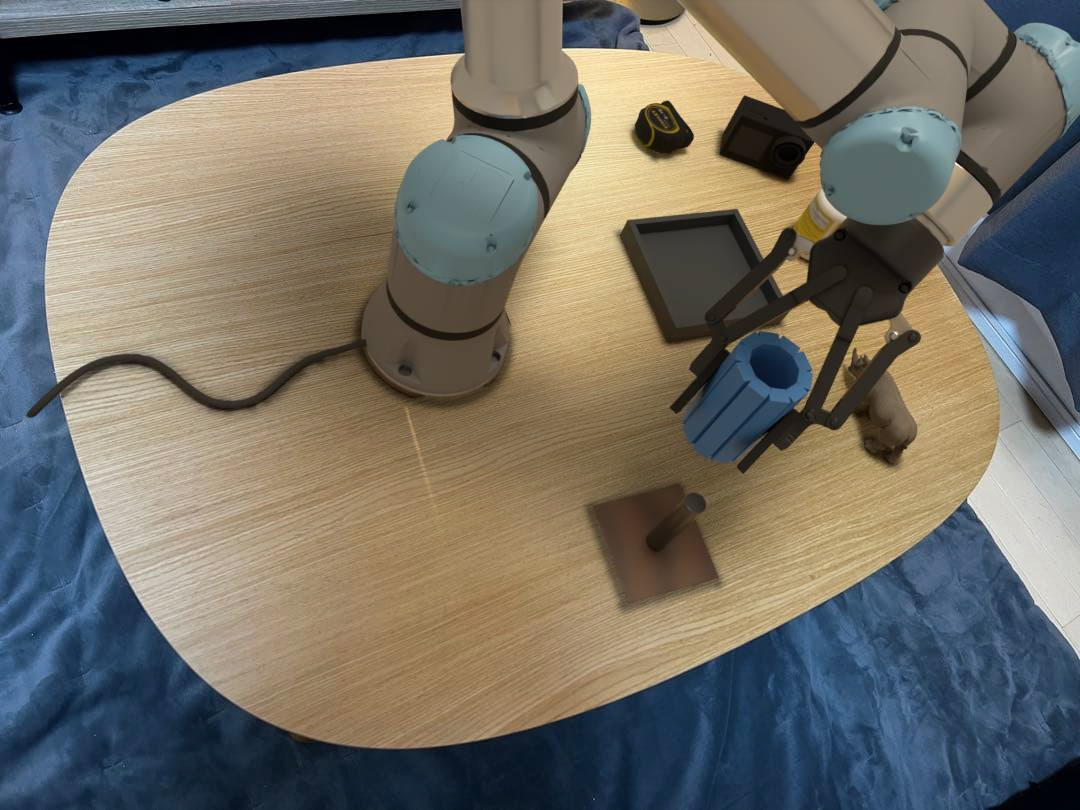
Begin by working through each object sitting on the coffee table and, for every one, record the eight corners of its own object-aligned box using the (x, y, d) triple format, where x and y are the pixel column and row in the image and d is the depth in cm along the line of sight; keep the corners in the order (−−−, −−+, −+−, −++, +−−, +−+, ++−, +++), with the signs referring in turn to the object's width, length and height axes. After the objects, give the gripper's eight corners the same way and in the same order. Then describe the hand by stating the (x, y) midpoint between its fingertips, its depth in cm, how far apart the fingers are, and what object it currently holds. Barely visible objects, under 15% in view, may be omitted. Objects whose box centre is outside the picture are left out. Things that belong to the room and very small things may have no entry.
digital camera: (717, 160, 114) (740, 120, 108) (721, 133, 117) (743, 93, 111) (788, 185, 115) (815, 148, 109) (790, 158, 117) (816, 120, 112)
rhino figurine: (857, 359, 102) (886, 332, 97) (901, 463, 96) (934, 439, 91) (828, 361, 101) (856, 334, 96) (871, 466, 95) (903, 442, 90)
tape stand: (625, 606, 80) (667, 569, 71) (589, 509, 84) (625, 463, 75) (714, 580, 84) (766, 542, 74) (676, 489, 88) (721, 442, 78)
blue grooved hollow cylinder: (699, 469, 73) (757, 409, 63) (671, 403, 75) (723, 336, 66) (761, 456, 75) (826, 396, 66) (732, 392, 78) (790, 325, 68)
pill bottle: (833, 238, 112) (882, 179, 102) (827, 271, 108) (876, 213, 99) (791, 219, 112) (835, 158, 102) (783, 251, 108) (828, 191, 99)
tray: (667, 342, 97) (676, 328, 94) (619, 234, 103) (627, 219, 100) (779, 323, 102) (790, 310, 100) (727, 223, 108) (737, 208, 106)
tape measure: (688, 153, 113) (700, 132, 110) (647, 163, 110) (658, 142, 107) (662, 117, 115) (673, 95, 112) (621, 125, 112) (631, 103, 109)
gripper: (1002, 305, 67) (798, 511, 73) (810, 153, 71) (629, 361, 76) (1026, 300, 60) (797, 529, 66) (811, 131, 63) (612, 362, 69)
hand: (707, 438), depth 71 cm, fingers closed on blue grooved hollow cylinder, 7 cm apart
